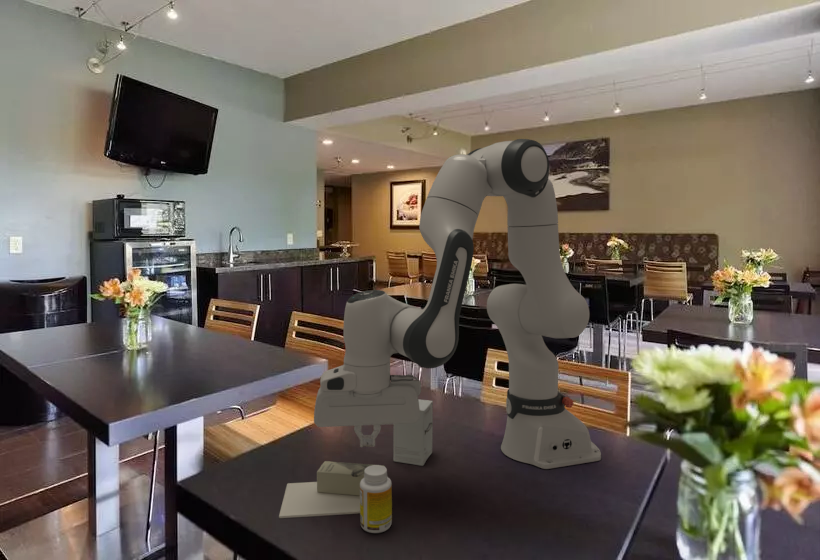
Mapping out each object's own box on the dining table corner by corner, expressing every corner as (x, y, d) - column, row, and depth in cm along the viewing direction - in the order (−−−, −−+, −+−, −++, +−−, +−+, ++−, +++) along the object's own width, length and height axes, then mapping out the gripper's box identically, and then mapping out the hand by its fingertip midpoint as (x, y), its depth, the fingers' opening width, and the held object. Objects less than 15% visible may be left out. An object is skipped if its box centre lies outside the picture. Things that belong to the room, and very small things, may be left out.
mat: (375, 480, 106) (375, 478, 106) (378, 512, 94) (378, 510, 94) (287, 485, 104) (287, 483, 104) (279, 518, 92) (278, 516, 92)
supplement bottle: (398, 525, 90) (398, 469, 89) (375, 538, 86) (374, 480, 85) (376, 513, 94) (376, 459, 93) (353, 525, 90) (352, 470, 89)
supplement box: (424, 466, 112) (424, 410, 111) (392, 461, 115) (392, 407, 113) (433, 452, 119) (433, 400, 118) (403, 448, 121) (403, 396, 120)
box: (380, 476, 98) (315, 471, 100) (380, 498, 98) (316, 493, 100) (385, 464, 103) (324, 459, 105) (385, 485, 103) (324, 480, 105)
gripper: (419, 369, 102) (418, 436, 103) (314, 372, 99) (315, 441, 101) (423, 379, 95) (423, 450, 97) (312, 382, 93) (313, 455, 94)
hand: (367, 445), depth 99 cm, fingers closed
